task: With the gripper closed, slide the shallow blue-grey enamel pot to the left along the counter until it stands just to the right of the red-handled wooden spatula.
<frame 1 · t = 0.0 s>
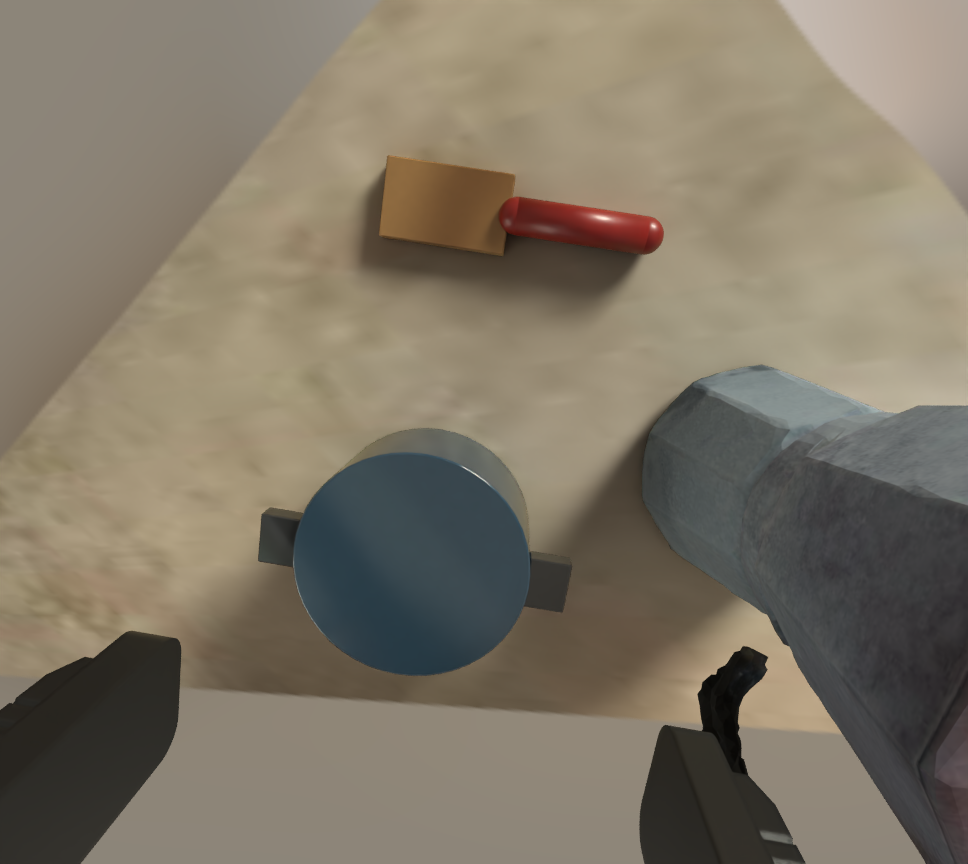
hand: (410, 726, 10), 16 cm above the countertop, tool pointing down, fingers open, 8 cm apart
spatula: (521, 219, 23), on the countertop
moka pot: (739, 476, 25), on the countertop
pot: (428, 526, 26), on the countertop
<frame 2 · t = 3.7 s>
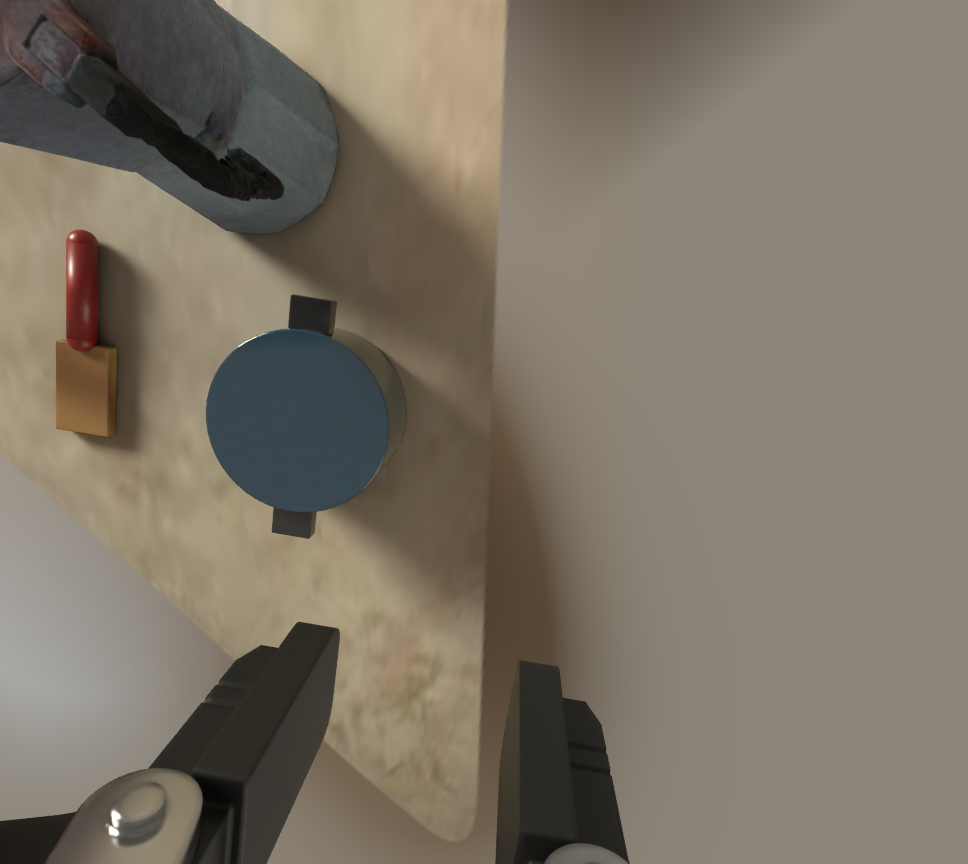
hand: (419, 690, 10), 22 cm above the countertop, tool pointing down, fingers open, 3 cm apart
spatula: (91, 334, 32), on the countertop
moka pot: (266, 147, 30), on the countertop
pot: (326, 408, 32), on the countertop
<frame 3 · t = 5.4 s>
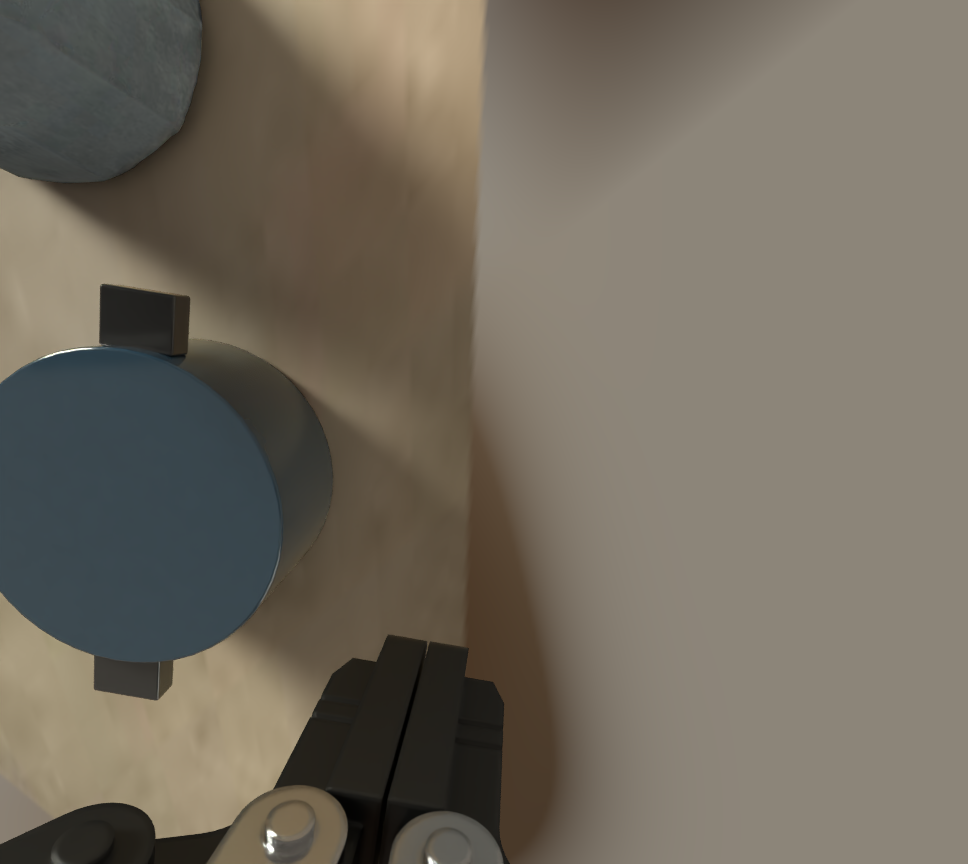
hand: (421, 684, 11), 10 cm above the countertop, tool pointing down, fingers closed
moka pot: (86, 36, 18), on the countertop
pot: (205, 470, 20), on the countertop
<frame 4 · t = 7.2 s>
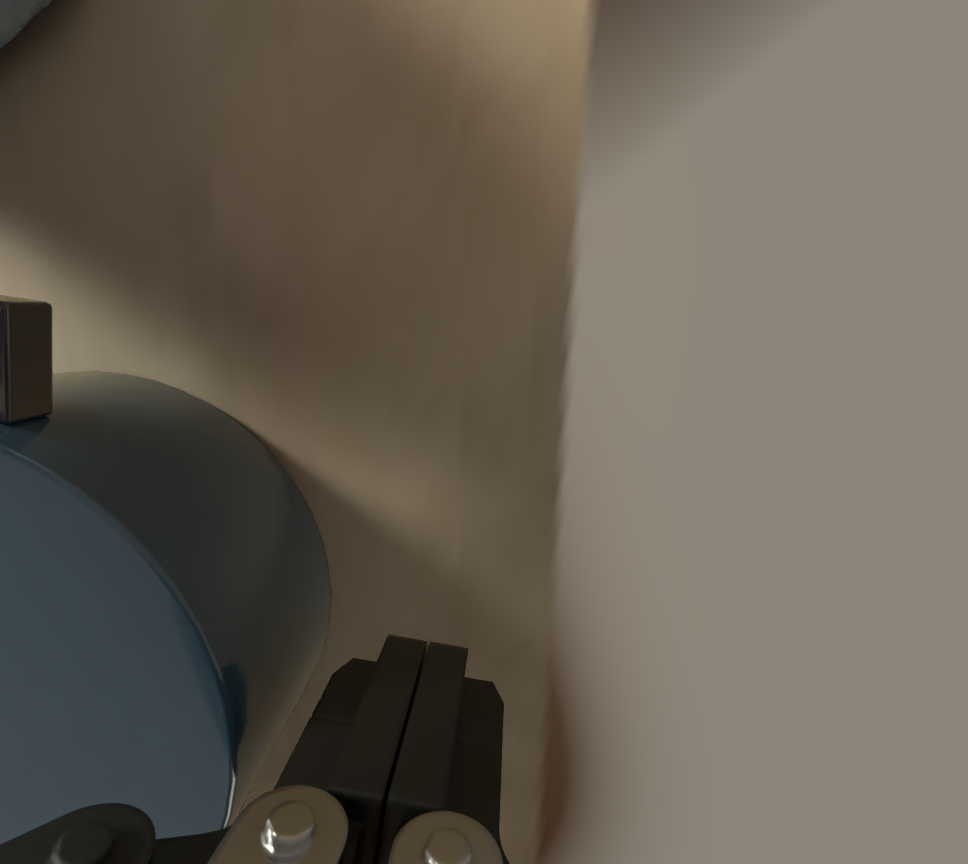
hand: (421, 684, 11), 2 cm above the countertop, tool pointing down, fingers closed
pot: (123, 581, 12), on the countertop, touching gripper
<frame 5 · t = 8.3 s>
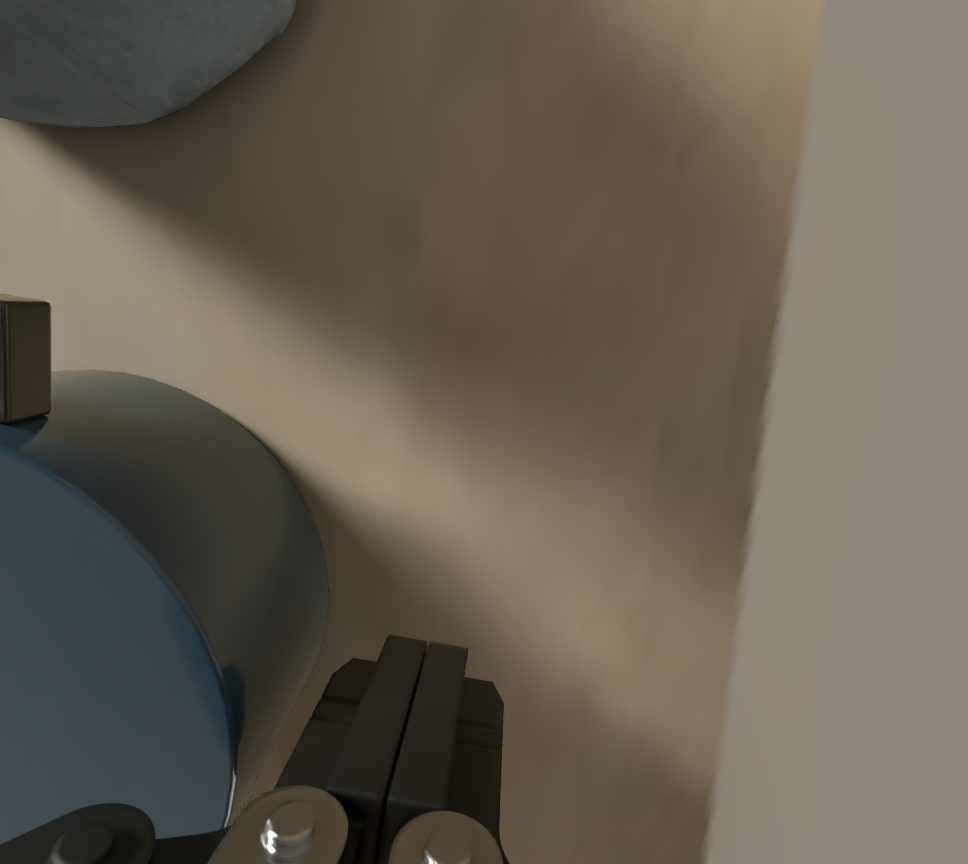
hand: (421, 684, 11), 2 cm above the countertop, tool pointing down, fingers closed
pot: (119, 580, 12), on the countertop, touching gripper
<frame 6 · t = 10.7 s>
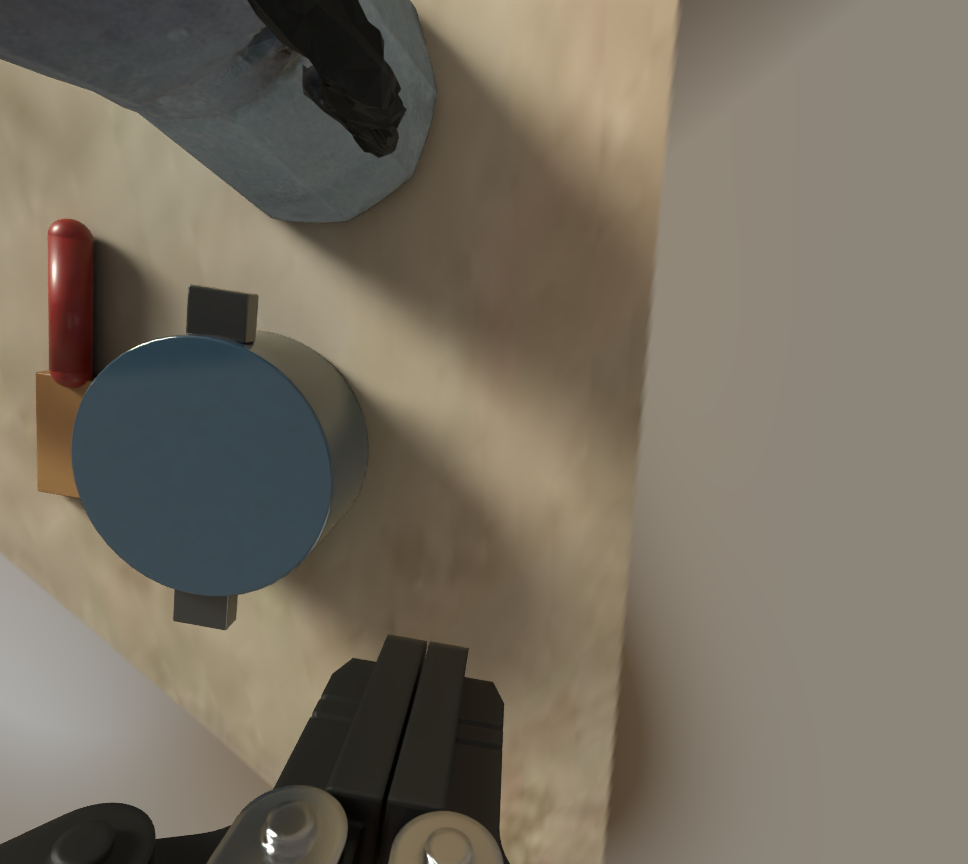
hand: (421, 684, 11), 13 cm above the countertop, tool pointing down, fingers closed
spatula: (84, 363, 24), on the countertop
moka pot: (328, 100, 21), on the countertop
pot: (260, 442, 24), on the countertop
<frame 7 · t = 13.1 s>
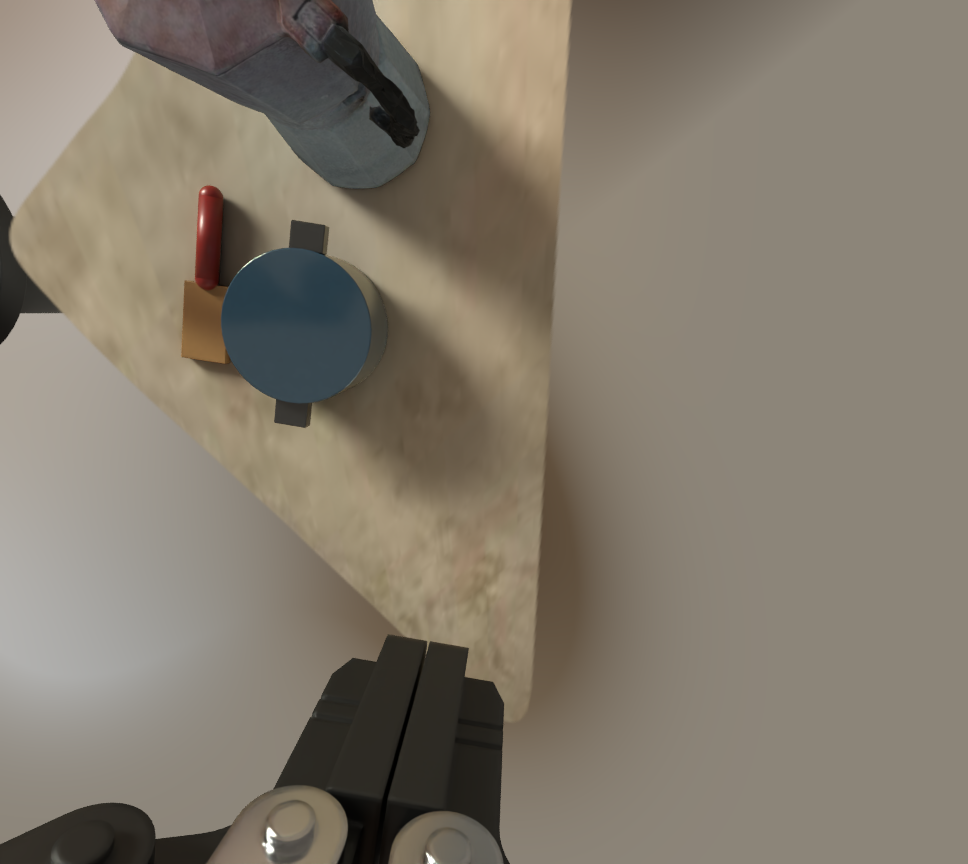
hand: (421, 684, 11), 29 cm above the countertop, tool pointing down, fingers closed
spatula: (212, 276, 38), on the countertop
moka pot: (366, 116, 36), on the countertop
pot: (320, 325, 38), on the countertop
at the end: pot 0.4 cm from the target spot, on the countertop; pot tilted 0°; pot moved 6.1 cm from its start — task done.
